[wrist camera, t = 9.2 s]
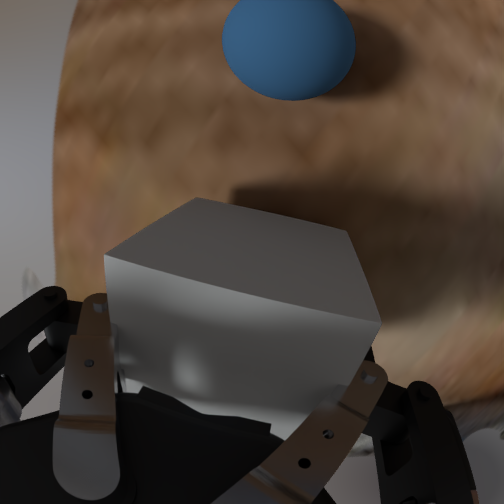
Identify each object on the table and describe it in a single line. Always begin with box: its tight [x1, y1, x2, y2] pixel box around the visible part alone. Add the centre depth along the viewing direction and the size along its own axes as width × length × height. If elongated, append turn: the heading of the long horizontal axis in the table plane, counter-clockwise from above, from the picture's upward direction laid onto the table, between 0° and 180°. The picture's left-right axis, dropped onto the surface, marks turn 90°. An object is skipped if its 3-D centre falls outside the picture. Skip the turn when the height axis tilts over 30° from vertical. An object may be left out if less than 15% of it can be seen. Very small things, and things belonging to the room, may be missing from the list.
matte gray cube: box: [104, 197, 382, 440], centre depth 11 cm, size 7×7×7 cm
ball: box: [222, 0, 356, 101], centre depth 9 cm, size 5×5×5 cm
